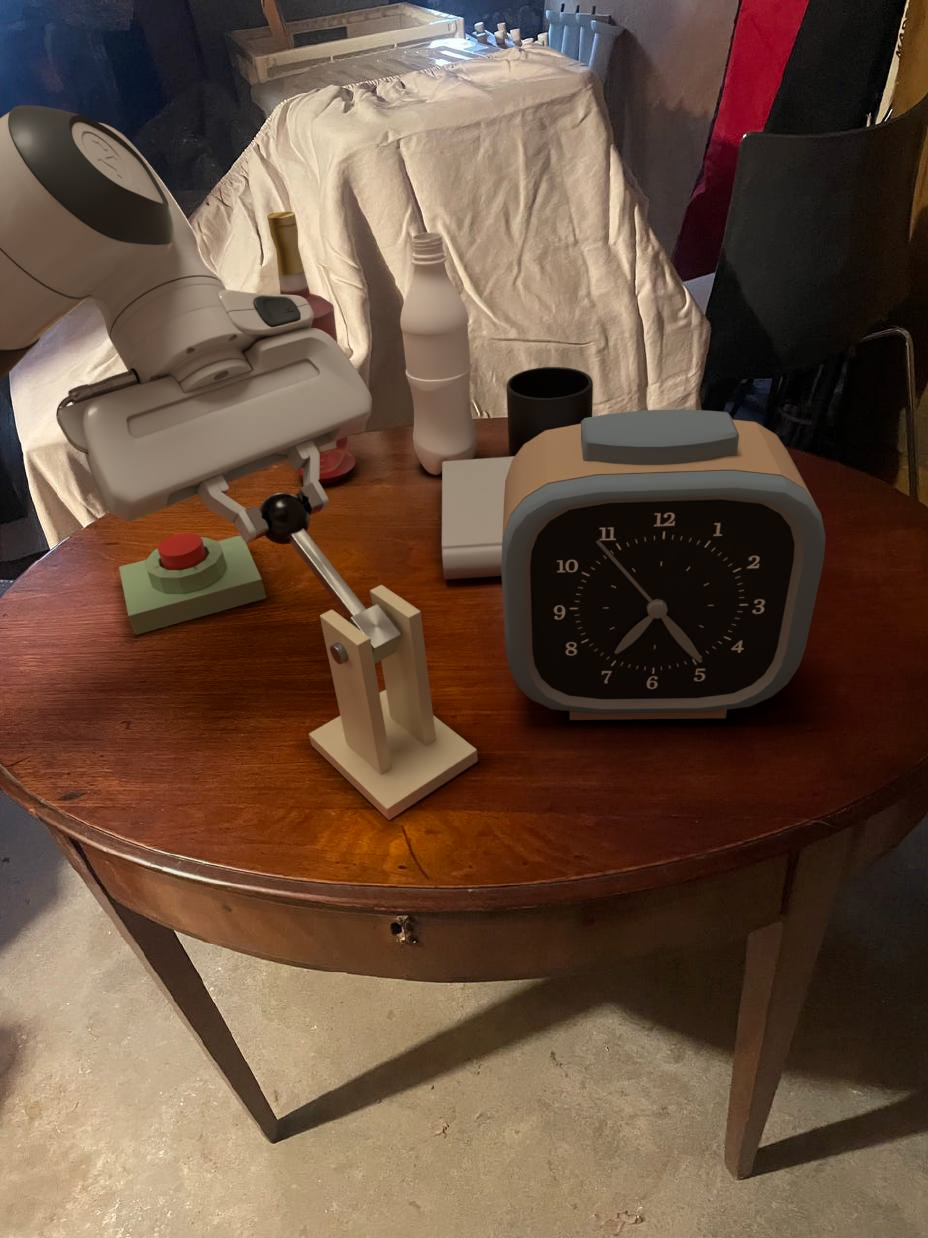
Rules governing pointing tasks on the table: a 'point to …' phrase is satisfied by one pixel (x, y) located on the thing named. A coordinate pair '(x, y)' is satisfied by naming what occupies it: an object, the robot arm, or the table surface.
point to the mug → (546, 402)
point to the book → (473, 516)
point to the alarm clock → (657, 566)
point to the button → (182, 551)
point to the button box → (190, 586)
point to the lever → (327, 571)
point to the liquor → (294, 282)
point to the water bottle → (437, 359)
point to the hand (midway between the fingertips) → (289, 523)
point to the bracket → (387, 714)
